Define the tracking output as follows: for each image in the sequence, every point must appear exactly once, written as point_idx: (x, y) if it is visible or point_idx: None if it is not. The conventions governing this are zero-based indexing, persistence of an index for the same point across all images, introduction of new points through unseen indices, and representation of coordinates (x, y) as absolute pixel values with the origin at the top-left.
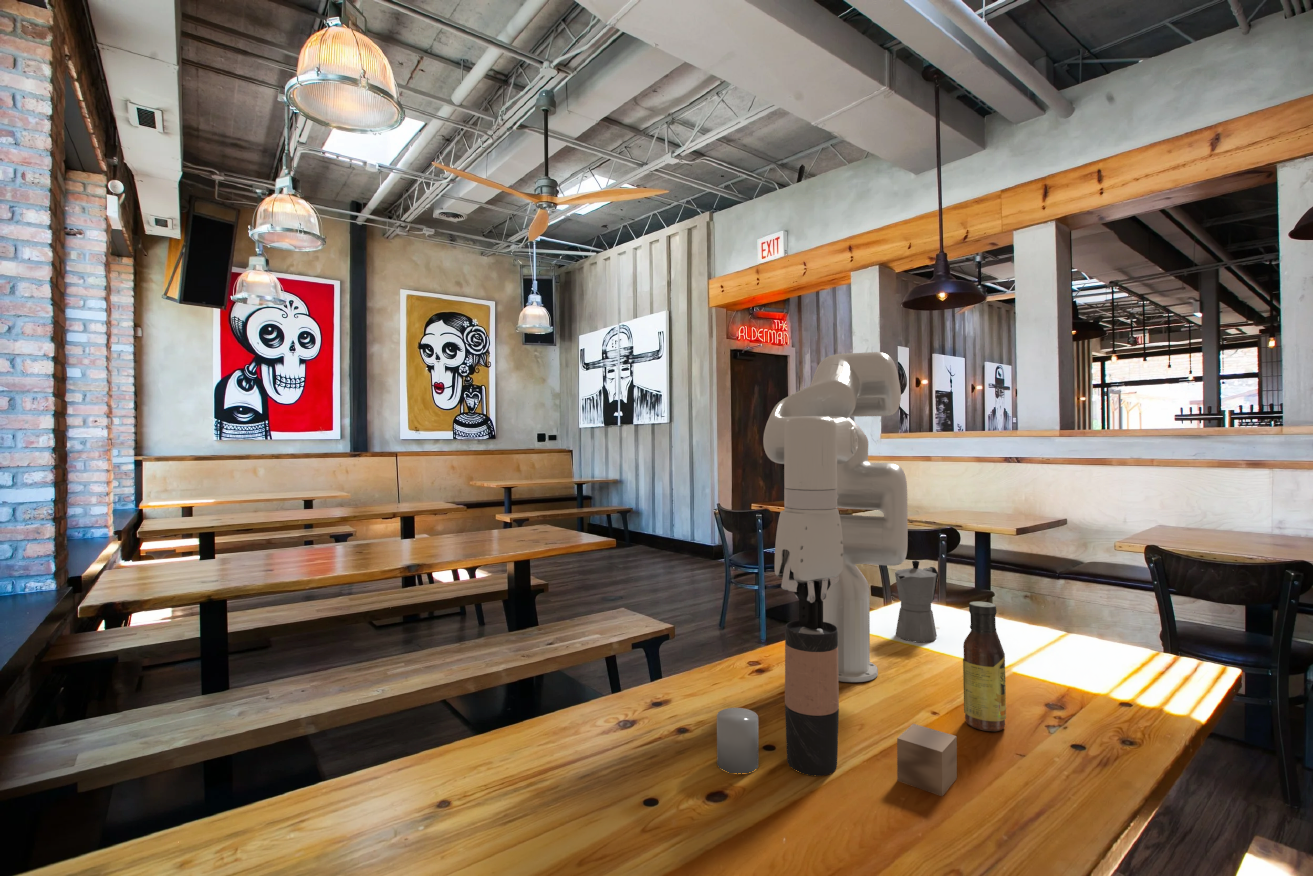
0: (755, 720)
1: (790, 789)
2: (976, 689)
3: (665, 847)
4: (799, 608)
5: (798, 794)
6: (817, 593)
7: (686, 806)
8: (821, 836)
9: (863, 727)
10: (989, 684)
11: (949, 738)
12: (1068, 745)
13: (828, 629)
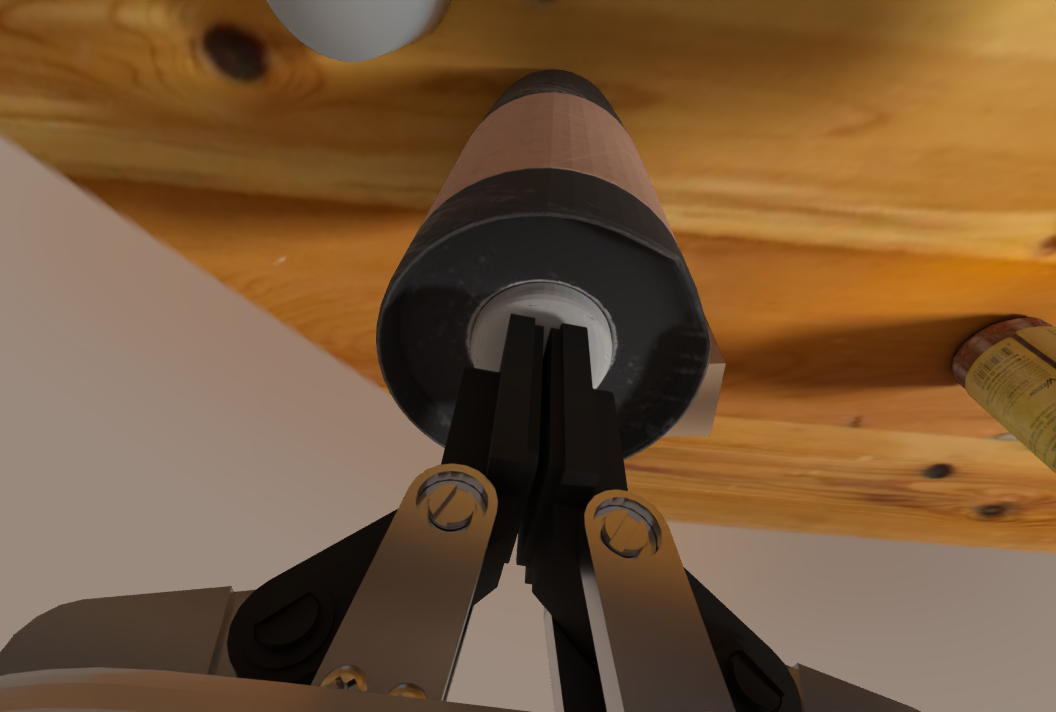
0: (369, 53)
1: (413, 173)
2: (1030, 413)
3: (39, 111)
4: (502, 387)
5: (412, 198)
6: (555, 616)
7: (138, 24)
8: (345, 298)
9: (857, 134)
10: (1036, 449)
11: (688, 431)
12: (939, 462)
13: (666, 383)
